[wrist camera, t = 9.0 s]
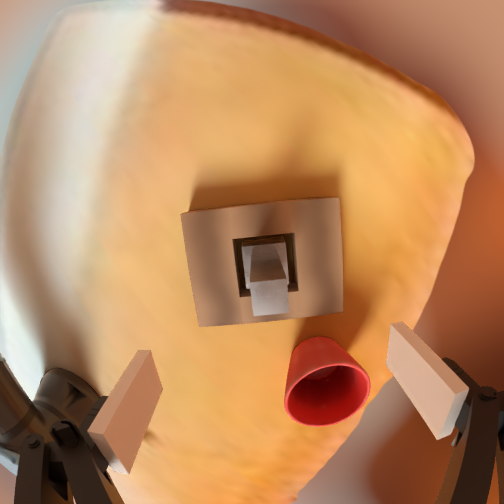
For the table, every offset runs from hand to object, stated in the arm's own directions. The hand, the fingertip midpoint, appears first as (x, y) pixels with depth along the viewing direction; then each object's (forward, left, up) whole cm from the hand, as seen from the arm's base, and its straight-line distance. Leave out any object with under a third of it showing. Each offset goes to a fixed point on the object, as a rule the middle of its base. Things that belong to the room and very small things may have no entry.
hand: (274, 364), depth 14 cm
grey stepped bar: (0, 0, -23) cm, 23 cm away
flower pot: (+6, -16, -24) cm, 29 cm away
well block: (0, 0, -23) cm, 23 cm away
